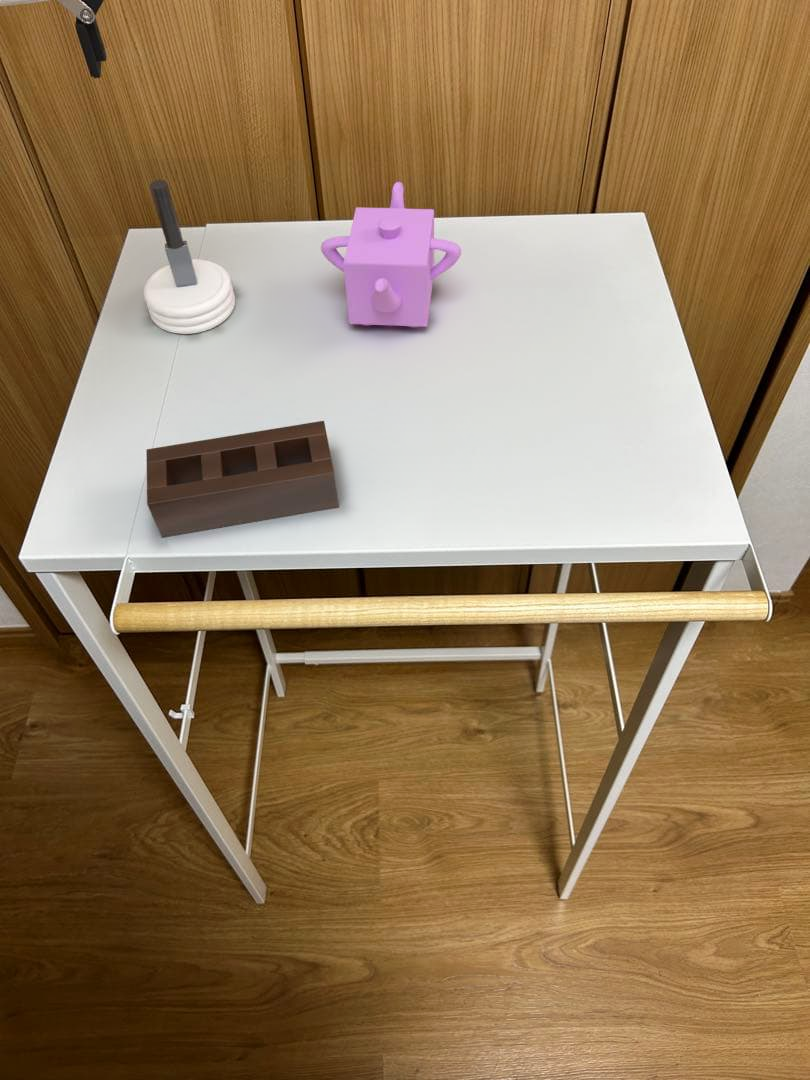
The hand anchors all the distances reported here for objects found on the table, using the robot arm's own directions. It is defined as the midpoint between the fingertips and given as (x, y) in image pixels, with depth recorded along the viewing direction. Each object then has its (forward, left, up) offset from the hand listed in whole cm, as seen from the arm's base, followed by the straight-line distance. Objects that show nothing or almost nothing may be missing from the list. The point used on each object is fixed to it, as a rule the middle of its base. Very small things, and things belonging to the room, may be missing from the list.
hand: (37, 78), depth 68 cm
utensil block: (+10, -22, -30) cm, 39 cm away
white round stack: (+6, +8, -31) cm, 32 cm away
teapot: (+29, +3, -31) cm, 42 cm away
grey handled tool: (+6, +8, -27) cm, 29 cm away
